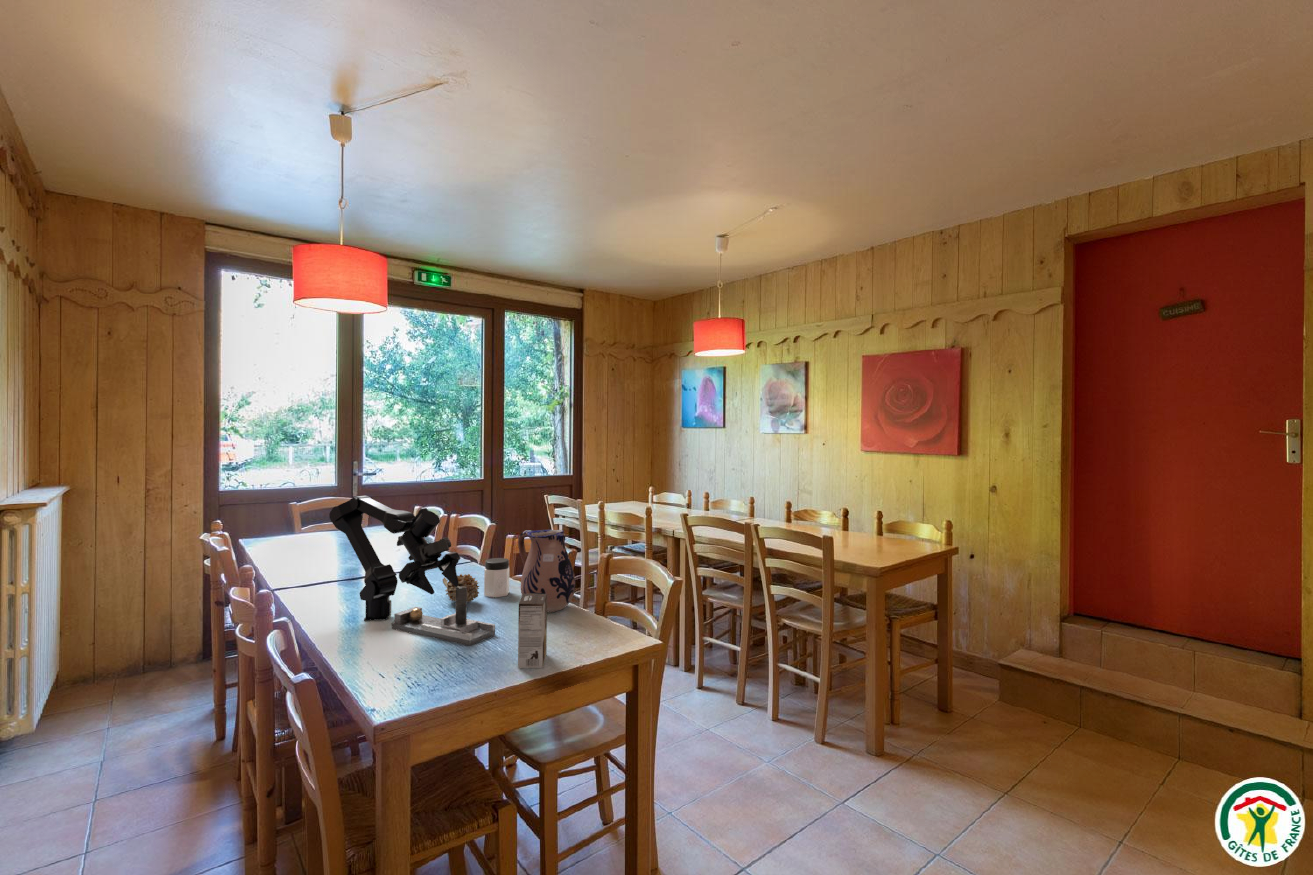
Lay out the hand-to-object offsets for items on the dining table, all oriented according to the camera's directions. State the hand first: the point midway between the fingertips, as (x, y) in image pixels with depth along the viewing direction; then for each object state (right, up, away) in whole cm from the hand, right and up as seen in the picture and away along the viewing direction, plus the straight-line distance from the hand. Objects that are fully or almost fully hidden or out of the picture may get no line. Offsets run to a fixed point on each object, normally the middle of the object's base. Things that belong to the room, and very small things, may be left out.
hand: (445, 589), depth 174 cm
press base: (-1, -12, +1) cm, 12 cm away
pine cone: (-7, -12, +31) cm, 34 cm away
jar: (+4, -12, +40) cm, 42 cm away
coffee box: (+29, -13, -20) cm, 38 cm away
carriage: (+5, -11, -2) cm, 12 cm away
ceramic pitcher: (+23, -12, +24) cm, 36 cm away
